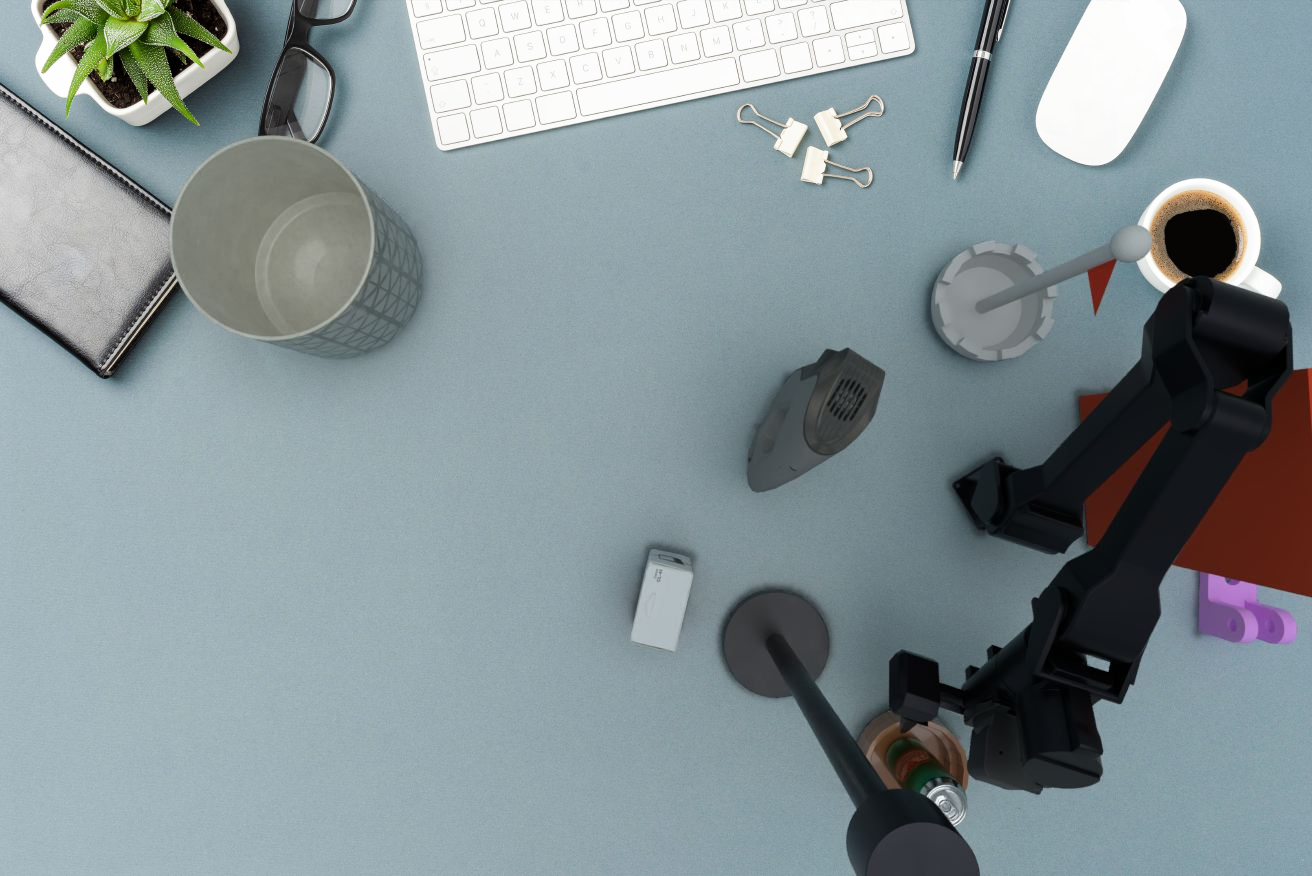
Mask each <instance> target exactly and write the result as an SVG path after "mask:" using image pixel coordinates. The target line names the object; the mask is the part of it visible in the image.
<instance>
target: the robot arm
mask: <svg viewBox="0 0 1312 876" xmlns="http://www.w3.org/2000/svg"><path fill="white" fill-rule="evenodd" d="M1290 315H1291V314H1290V311H1289V306H1288V305H1287V304H1286V303H1285V302H1284V301H1283V300H1280V299H1277V298H1275V297H1272V296H1268V295H1265V294H1262V293H1258V292H1255V291H1253V290H1249V289H1246V288H1243V287H1240V286H1237V285H1234V284H1231V283H1228V282H1224V281H1222V280H1219V279H1216V278H1212V277H1209V276H1206V275H1201V274H1200V275H1196V276H1193V277H1189V276H1187V277H1185V278H1183V279H1181V280H1180V281H1178V282H1177V283H1176V284H1175V285H1174V286H1172V287H1170V288H1169V289H1167V291H1166V292H1165V293H1164V294H1162V296H1161V298H1160V300H1159V301H1158V302H1157V305H1156V306H1155V309H1154V311H1153V312H1152V313H1151V315H1150V316H1149V318H1148V319H1147V320H1146V322H1145V323H1144V324H1143V330H1142V339H1141V351H1140V352H1141V353H1140V354H1141V355H1140V358H1139V359H1138V361H1136V363H1135V364H1134V365H1133V367H1132V368H1131V369H1130V370H1129V371H1128V372H1127V373H1126V374H1125V375H1124V376H1123V377H1122V378H1121V379H1120V381H1119V382H1117V384H1115V386H1114V387H1113V388H1112V389H1111V390H1110V391H1109V393H1108V392H1107V393H1108V395H1107V396H1106V397H1105V398H1104V399H1103V400H1102V401H1101V402H1100V403H1099V404H1098V405H1097V406H1096V407H1095V408H1094V410H1093V411H1092V412H1091V413H1090V414H1089V415H1088V416H1087V417H1086V418H1085V419H1084V420H1083V421H1082V422H1081V421H1080V423H1079V424H1078V425H1077V427H1076V428H1075V429H1074V430H1073V431H1072V432H1071V433H1070V434H1069V435H1068V436H1067V437H1066V438H1065V439H1064V440H1063V442H1062V443H1060V445H1059V446H1058V447H1057V448H1056V449H1055V450H1054V451H1053V452H1052V453H1051V455H1050V456H1049V457H1048V458H1047V459H1046V460H1045V461H1044V462H1043V463H1041V464H1039V465H1035V466H1032V467H1028V468H1024V469H1022V468H1020V467H1016V466H1014V465H1013V464H1007V463H1006V462H1005V459H1003V458H1002V457H1001V456H994V457H993V458H992V459H991V458H990V460H988V461H987V462H985V463H983V464H981V465H980V466H978V467H977V468H974V469H973V470H972V471H969V472H968V473H966V474H965V475H963V476H962V477H959V478H958V479H956V480H955V481H953V482H952V484H951V487H952V489H953V491H954V492H955V494H956V496H957V497H958V499H959V501H960V503H961V504H962V505H963V508H964V509H965V510H966V512H967V514H968V515H969V517H970V519H971V521H972V523H973V524H974V526H975V527H976V529H977V530H978V531H979V532H984V531H986V532H987V535H988V536H991V537H993V538H995V539H999V540H1002V541H1005V542H1009V543H1012V544H1015V545H1018V546H1021V547H1024V548H1027V549H1030V550H1034V551H1036V552H1039V553H1042V554H1046V555H1051V556H1055V555H1057V554H1062V555H1065V554H1066V552H1067V551H1068V549H1069V548H1070V546H1071V545H1073V543H1074V542H1076V541H1077V540H1078V539H1080V538H1082V537H1083V536H1084V533H1085V528H1084V525H1083V524H1084V504H1085V501H1086V499H1087V498H1088V497H1089V496H1090V495H1091V494H1093V493H1094V492H1095V491H1096V490H1097V489H1098V488H1099V487H1100V486H1101V485H1102V484H1103V483H1104V482H1105V481H1106V480H1107V479H1108V478H1109V477H1110V476H1112V475H1113V474H1114V473H1115V472H1116V471H1117V470H1118V469H1119V468H1120V467H1121V466H1122V465H1123V464H1124V463H1125V462H1126V461H1127V460H1128V459H1129V458H1131V457H1132V456H1133V455H1134V454H1135V453H1136V452H1137V451H1138V450H1139V449H1140V448H1141V447H1142V446H1143V445H1144V444H1145V443H1146V442H1147V441H1148V440H1150V439H1151V438H1152V437H1153V436H1154V435H1155V434H1156V433H1157V432H1158V431H1159V430H1160V429H1161V428H1162V427H1163V426H1164V425H1165V424H1166V423H1167V422H1169V421H1171V426H1170V428H1169V429H1168V431H1167V432H1166V434H1165V436H1164V437H1163V439H1162V441H1161V442H1160V444H1159V445H1158V447H1157V449H1156V450H1155V452H1154V454H1153V455H1152V457H1151V458H1150V460H1149V462H1148V463H1147V465H1146V467H1145V468H1144V470H1143V471H1142V473H1141V475H1140V476H1139V478H1138V480H1137V481H1136V483H1135V485H1134V486H1133V488H1132V489H1131V491H1130V493H1129V494H1128V496H1127V498H1126V499H1125V501H1124V502H1123V504H1122V506H1121V507H1120V509H1119V511H1118V512H1117V514H1116V515H1115V517H1114V519H1113V520H1112V522H1111V524H1110V525H1109V527H1108V528H1107V530H1106V532H1105V533H1104V535H1103V537H1102V538H1101V540H1100V541H1099V542H1098V543H1097V545H1096V546H1095V547H1093V548H1092V549H1090V550H1088V551H1086V552H1084V553H1081V554H1080V555H1078V556H1075V557H1074V558H1072V559H1070V560H1068V561H1066V562H1065V563H1064V564H1063V566H1062V567H1061V569H1060V570H1059V571H1058V572H1057V574H1056V575H1055V576H1054V577H1053V579H1052V580H1051V581H1050V582H1049V584H1048V585H1047V586H1046V587H1045V588H1044V589H1043V590H1042V591H1041V592H1040V593H1039V596H1038V597H1037V596H1033V597H1032V598H1031V600H1030V605H1031V609H1032V610H1031V611H1032V612H1031V613H1032V617H1033V618H1032V621H1031V622H1030V623H1028V625H1027V626H1025V628H1023V629H1022V630H1021V631H1020V632H1019V633H1018V634H1016V635H1015V637H1013V638H1012V639H1011V640H1010V641H1009V642H1008V643H1006V644H1005V646H1003V647H1002V646H998V645H995V644H991V645H990V646H989V647H988V648H987V649H986V657H987V661H986V662H985V663H984V664H983V665H982V666H981V667H978V666H975V665H972V664H969V665H968V666H967V667H966V668H965V669H964V677H965V681H964V683H963V684H962V685H961V688H959V687H956V686H953V685H950V684H948V683H947V684H946V683H944V682H941V680H940V664H939V662H938V661H937V660H936V659H934V658H932V657H928V656H926V655H922V654H919V653H916V652H913V651H910V650H907V649H904V648H901V649H900V650H898V651H897V652H896V653H894V655H892V657H890V659H889V660H888V708H889V709H890V711H892V712H893V713H894V714H896V715H899V716H901V719H900V733H903V734H904V733H906V732H908V731H909V730H911V729H912V728H913V727H914V726H915V725H916V724H920V725H923V726H926V727H928V722H929V721H932V720H933V719H934V718H937V715H938V713H939V710H940V711H945V712H947V713H949V714H953V715H956V716H959V717H962V718H963V725H964V726H967V727H971V728H972V730H971V733H970V741H969V751H968V757H967V771H968V773H969V776H970V777H971V778H972V779H973V780H975V781H979V782H982V783H985V784H988V785H992V786H994V787H998V788H1000V789H1003V790H1006V791H1024V792H1027V793H1029V794H1033V795H1035V796H1036V795H1037V796H1040V795H1041V794H1042V792H1043V791H1044V789H1052V788H1054V789H1062V790H1068V789H1069V790H1074V789H1076V790H1077V789H1083V788H1088V787H1091V786H1093V785H1096V784H1099V782H1101V778H1102V776H1103V775H1104V767H1103V761H1102V758H1101V756H1103V754H1104V747H1103V742H1102V737H1101V735H1100V732H1099V729H1098V726H1097V721H1096V716H1095V711H1094V705H1095V704H1097V703H1098V702H1100V701H1101V700H1103V701H1107V702H1111V703H1113V704H1116V705H1122V704H1123V702H1124V700H1125V698H1126V695H1127V693H1128V690H1129V689H1130V686H1135V683H1136V679H1137V676H1138V672H1139V668H1140V665H1141V662H1142V658H1143V655H1144V653H1145V651H1146V648H1147V646H1148V644H1149V642H1150V638H1151V637H1152V634H1153V633H1154V630H1155V628H1156V627H1157V624H1158V623H1159V620H1160V619H1161V617H1162V603H1161V592H1160V586H1161V584H1162V582H1163V580H1164V579H1165V577H1166V574H1167V573H1168V571H1169V570H1170V568H1171V567H1172V566H1173V565H1172V564H1173V562H1174V561H1175V559H1176V558H1177V556H1178V555H1179V553H1180V552H1181V550H1182V549H1183V547H1184V546H1185V544H1186V543H1187V541H1188V540H1189V538H1190V537H1191V535H1192V534H1193V532H1194V531H1195V529H1196V528H1197V526H1198V525H1199V523H1200V522H1201V520H1202V519H1203V517H1204V516H1205V514H1206V513H1207V511H1208V510H1209V508H1210V507H1211V505H1212V504H1213V502H1214V501H1215V500H1216V498H1217V497H1218V495H1219V494H1220V492H1221V491H1222V489H1223V488H1224V486H1225V485H1226V483H1227V482H1228V480H1229V479H1230V477H1231V476H1232V474H1233V473H1234V471H1235V470H1236V468H1237V467H1238V465H1239V464H1240V462H1241V461H1242V459H1243V458H1244V456H1245V455H1246V453H1247V452H1252V451H1254V450H1255V449H1257V448H1258V447H1260V446H1261V445H1262V444H1263V442H1264V441H1265V440H1266V439H1267V437H1268V435H1269V433H1270V431H1271V427H1272V399H1273V398H1274V397H1275V395H1276V394H1277V393H1278V391H1279V390H1280V389H1281V388H1282V386H1283V385H1284V384H1285V382H1286V381H1287V380H1288V379H1289V377H1290V376H1291V375H1292V373H1293V370H1295V369H1294V342H1293V341H1294V340H1293V336H1294V335H1293V325H1292V322H1291V321H1290V317H1291V316H1290ZM1246 379H1247V390H1246V391H1245V392H1244V393H1243V394H1242V396H1237V395H1234V394H1231V393H1228V392H1225V391H1222V390H1224V389H1228V388H1231V387H1234V386H1237V385H1239V384H1240V383H1242V382H1243V381H1245V380H1246ZM957 484H958V486H957ZM981 526H982V528H981ZM1088 656H1089V657H1092V658H1095V659H1099V660H1102V661H1105V662H1106V663H1107V662H1108V663H1109V665H1108V666H1109V667H1108V671H1107V670H1104V669H1102V668H1101V669H1100V668H1098V667H1096V666H1095V667H1094V666H1091V665H1089V663H1088V658H1087V657H1088Z"/></svg>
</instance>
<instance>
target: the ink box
mask: <svg viewBox="0 0 1312 876" xmlns="http://www.w3.org/2000/svg"><path fill="white" fill-rule="evenodd" d="M693 571H694V570H693V567H692V562H691V558H690V556H687V555H684V554H680V553H675V552H672V551H671V552H670V551H667V550H661V549H657V548H651V549H650V550H649V554H648V558H647V561H646V566H645V569H644V573H643V577H642V583H641V585H640V591H639V596H638V600H637V605H636V608H635V612H634V613H635V614H634V619H633V624H632V628H631V633H630V638H629V641H630V642H629V643H630V644H633V645H638V646H641V647H646V648H650V649H654V650H659V651H663V652H668V653H676V651H677V647H678V643H679V640H680V635H681V631H682V627H683V622H684V617H685V614H686V611H687V610H686V609H687V605H688V601H689V596H690V594H691V593H690V592H691V589H692V588H691V587H692V585H693V584H692V583H693V579H694V572H693Z"/></svg>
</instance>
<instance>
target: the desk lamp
mask: <svg viewBox="0 0 1312 876" xmlns="http://www.w3.org/2000/svg"><path fill="white" fill-rule="evenodd" d="M826 625H827V624H826V623H825V621H824V619H823V617H822V616H821V614H820V613H819V612H818V610H817V609H816V607H814V606H813V605H812V604H811V603H810V602H809V601H808V600H807V599H805V598H804V597H802V596H800V595H799V594H797V593H794V592H791V591H788V590H785V589H784V590H783V589H766V590H761V591H758V592H755V593H753V594H751V595H748V596H747V597H745V598H744V599H742V600H741V601H740V602H739V603H738V604H737V605H736V606H735V607H734V608H733V610H732V611H731V612H730V614H729V616H728V617H727V619H726V622H725V625H724V627H723V632H722V651H723V655H724V659H725V662H726V665H727V667H728V670H729V671H730V672H731V674H732V676H733V677H734V678H735V680H737V682H738V683H739V684H740V685H741V686H742V687H744V688H745V689H746V690H748V691H750V692H751V693H754V694H755V695H758V696H762V697H765V698H770V699H771V698H773V699H779V698H787V697H788V698H789V697H791V696H792V697H793V698H794V700H795V703H796V704H797V705H798V707H799V709H800V711H801V712H802V715H803V716H804V718H805V720H806V722H807V724H808V725H809V727H810V730H812V733H813V734H814V737H815V738H816V740H817V742H818V743H819V745H820V747H821V749H822V750H823V752H824V754H825V756H826V757H827V759H828V761H829V763H830V764H831V766H832V768H833V770H834V772H835V774H836V775H837V777H838V779H839V781H840V783H841V784H842V786H843V788H844V789H845V791H846V793H847V795H848V796H849V799H850V800H851V802H852V804H853V806H854V807H855V811H854V813H853V814H852V816H851V819H850V821H849V823H848V825H847V829H846V835H845V837H846V838H845V847H846V853H847V857H848V860H849V863H850V866H851V867H852V870H853V871H854V873H855V875H856V876H981V870H980V866H979V862H978V860H977V857H976V855H975V853H974V851H973V848H972V847H971V846H970V845H969V843H968V842H967V841H966V839H965V838H964V837H963V836H962V834H961V833H960V832H959V831H958V829H957V828H956V826H955V827H954V826H953V824H952V823H951V822H950V821H949V819H948V818H947V817H946V815H945V814H944V813H943V812H942V810H941V809H940V808H939V807H938V806H937V805H936V804H935V803H934V802H933V801H932V800H931V799H929V798H928V797H926V796H925V795H923V794H921V793H919V792H916V791H913V790H909V789H899V788H897V789H888V788H887V786H886V785H885V783H884V782H883V781H882V779H881V778H880V776H879V775H878V773H877V772H876V770H875V769H874V767H873V766H872V765H871V763H870V762H869V760H868V759H867V757H866V756H865V754H864V753H863V751H862V750H861V749H860V747H859V746H858V744H857V743H858V742H856V740H855V738H854V737H853V735H852V734H851V732H850V731H849V730H848V728H847V727H846V725H845V724H844V722H843V720H841V717H840V716H839V715H838V713H837V711H836V710H835V709H834V708H833V706H832V705H831V703H830V702H829V700H828V699H827V697H826V696H825V694H824V693H823V691H822V690H821V689H820V686H818V684H817V683H816V681H817V679H818V678H819V677H820V676H821V674H822V672H823V671H824V668H825V667H826V665H827V661H828V659H829V654H830V653H829V652H830V637H829V631H828V628H827V626H826Z"/></svg>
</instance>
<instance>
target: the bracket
mask: <svg viewBox="0 0 1312 876" xmlns="http://www.w3.org/2000/svg"><path fill="white" fill-rule="evenodd" d="M1198 593H1199V595H1198V596H1199V597H1198V632H1201V633H1203V634H1206V635H1210V636H1212V637H1215V638H1218V639H1222V640H1224V641H1227V642H1230V643H1235V644H1237V643H1238V644H1239V643H1240V644H1251V643H1253V642H1255V640H1258V641H1261V642H1266V643H1268V644H1270V645H1271V644H1273V645H1290V644H1292V643H1293V642H1295V640H1296V639H1297V635H1298V624H1297V621H1296V619H1295V617H1294V615H1292V613H1291V612H1290V611H1289V610H1286V609H1283V608H1279V607H1275V606H1273V605H1269V604H1264V603H1260V602H1259V600H1258V585H1255V584H1251V583H1247V582H1243V581H1238V580H1234V579H1230V580H1228V581H1227V580H1226V578H1225V577H1221V576H1217V575H1212V574H1208V573H1204V572H1200V571H1199V592H1198Z"/></svg>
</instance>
